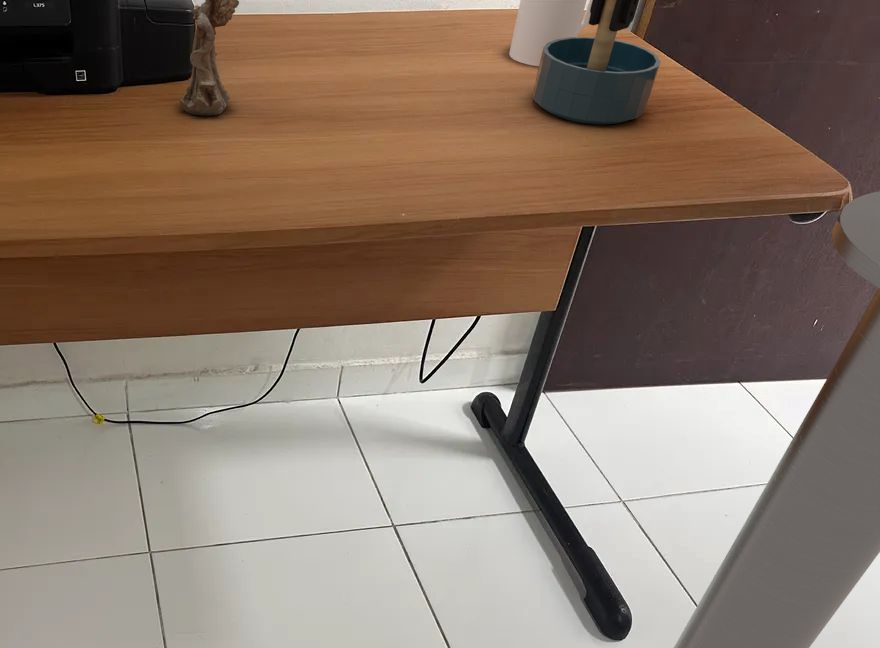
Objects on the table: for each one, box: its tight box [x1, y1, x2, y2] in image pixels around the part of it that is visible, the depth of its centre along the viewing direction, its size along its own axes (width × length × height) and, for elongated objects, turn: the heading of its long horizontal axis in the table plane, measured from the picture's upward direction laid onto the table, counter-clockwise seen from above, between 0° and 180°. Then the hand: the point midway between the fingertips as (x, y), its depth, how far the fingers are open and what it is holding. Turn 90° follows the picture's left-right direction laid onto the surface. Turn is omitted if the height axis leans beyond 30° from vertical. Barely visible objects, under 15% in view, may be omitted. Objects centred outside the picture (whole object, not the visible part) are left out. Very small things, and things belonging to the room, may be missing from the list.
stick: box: [587, 0, 618, 71], centre depth 103 cm, size 2×2×14 cm
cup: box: [508, 0, 593, 67], centre depth 119 cm, size 8×12×10 cm
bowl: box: [531, 36, 661, 125], centre depth 106 cm, size 13×13×6 cm
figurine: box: [179, 0, 240, 117], centre depth 100 cm, size 7×6×15 cm
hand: (608, 24), depth 102 cm, fingers closed on stick, 2 cm apart
